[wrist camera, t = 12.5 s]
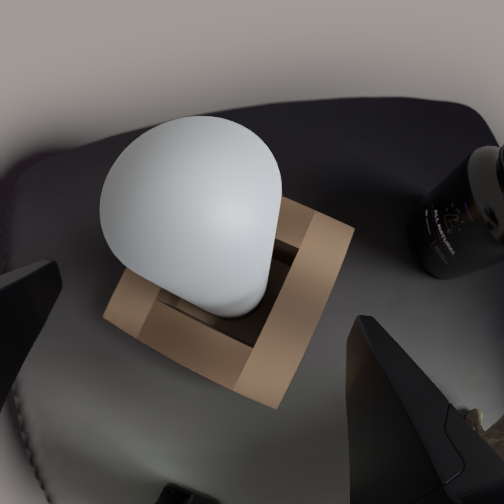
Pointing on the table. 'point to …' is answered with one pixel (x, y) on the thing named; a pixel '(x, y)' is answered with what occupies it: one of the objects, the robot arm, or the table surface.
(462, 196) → the supplement bottle
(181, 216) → the peg
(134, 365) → the table surface
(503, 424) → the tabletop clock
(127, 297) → the socket block
